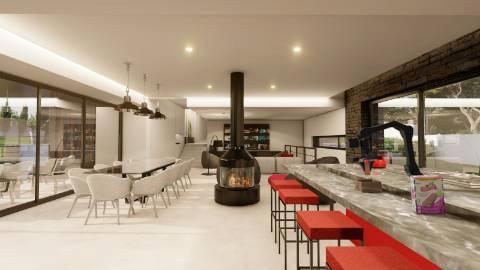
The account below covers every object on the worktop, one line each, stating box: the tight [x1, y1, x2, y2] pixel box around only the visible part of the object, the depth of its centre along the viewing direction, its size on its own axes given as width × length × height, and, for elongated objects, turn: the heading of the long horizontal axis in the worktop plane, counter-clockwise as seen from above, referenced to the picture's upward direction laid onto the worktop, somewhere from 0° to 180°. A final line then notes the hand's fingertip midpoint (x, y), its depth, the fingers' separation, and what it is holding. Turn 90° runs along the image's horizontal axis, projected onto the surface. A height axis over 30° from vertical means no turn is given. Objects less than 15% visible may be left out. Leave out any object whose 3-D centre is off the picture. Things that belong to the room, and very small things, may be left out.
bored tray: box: [353, 178, 383, 193], centre depth 165 cm, size 12×12×6 cm
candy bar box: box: [409, 174, 446, 215], centre depth 113 cm, size 11×5×16 cm, turn 74°
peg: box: [364, 161, 371, 176], centre depth 164 cm, size 3×3×8 cm
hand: (367, 171), depth 164 cm, fingers closed on peg, 3 cm apart
